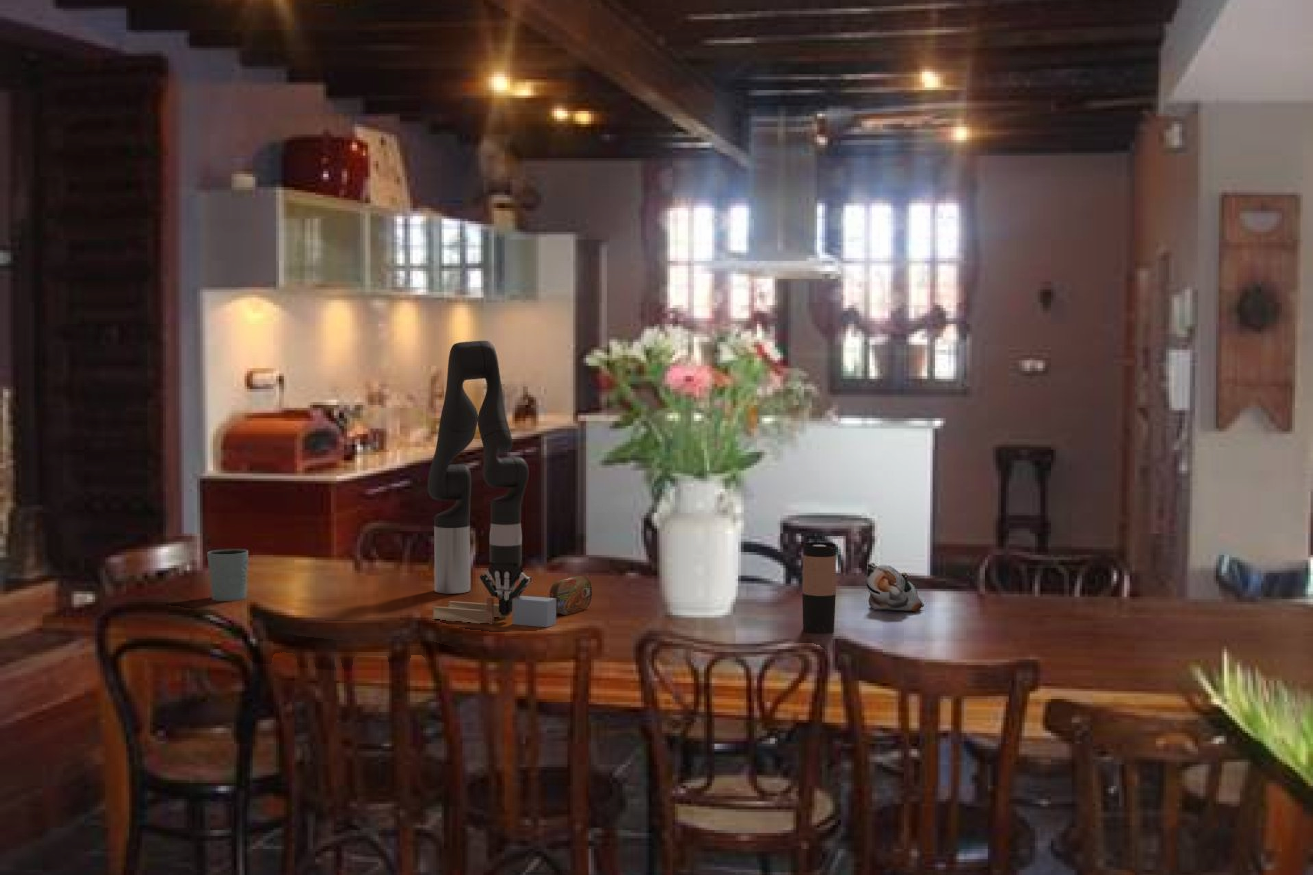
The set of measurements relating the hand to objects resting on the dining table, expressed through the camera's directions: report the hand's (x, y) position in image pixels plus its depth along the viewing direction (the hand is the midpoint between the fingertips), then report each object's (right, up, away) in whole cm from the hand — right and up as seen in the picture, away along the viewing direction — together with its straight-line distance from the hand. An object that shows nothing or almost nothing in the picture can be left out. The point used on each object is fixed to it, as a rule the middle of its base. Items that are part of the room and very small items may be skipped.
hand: (505, 614), depth 361 cm
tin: (+15, -1, +13) cm, 20 cm away
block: (+7, -2, -3) cm, 8 cm away
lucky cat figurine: (+94, -1, +18) cm, 96 cm away
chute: (-9, -1, +4) cm, 10 cm away
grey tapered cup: (-73, +1, +29) cm, 79 cm away
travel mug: (+73, -3, -8) cm, 73 cm away
